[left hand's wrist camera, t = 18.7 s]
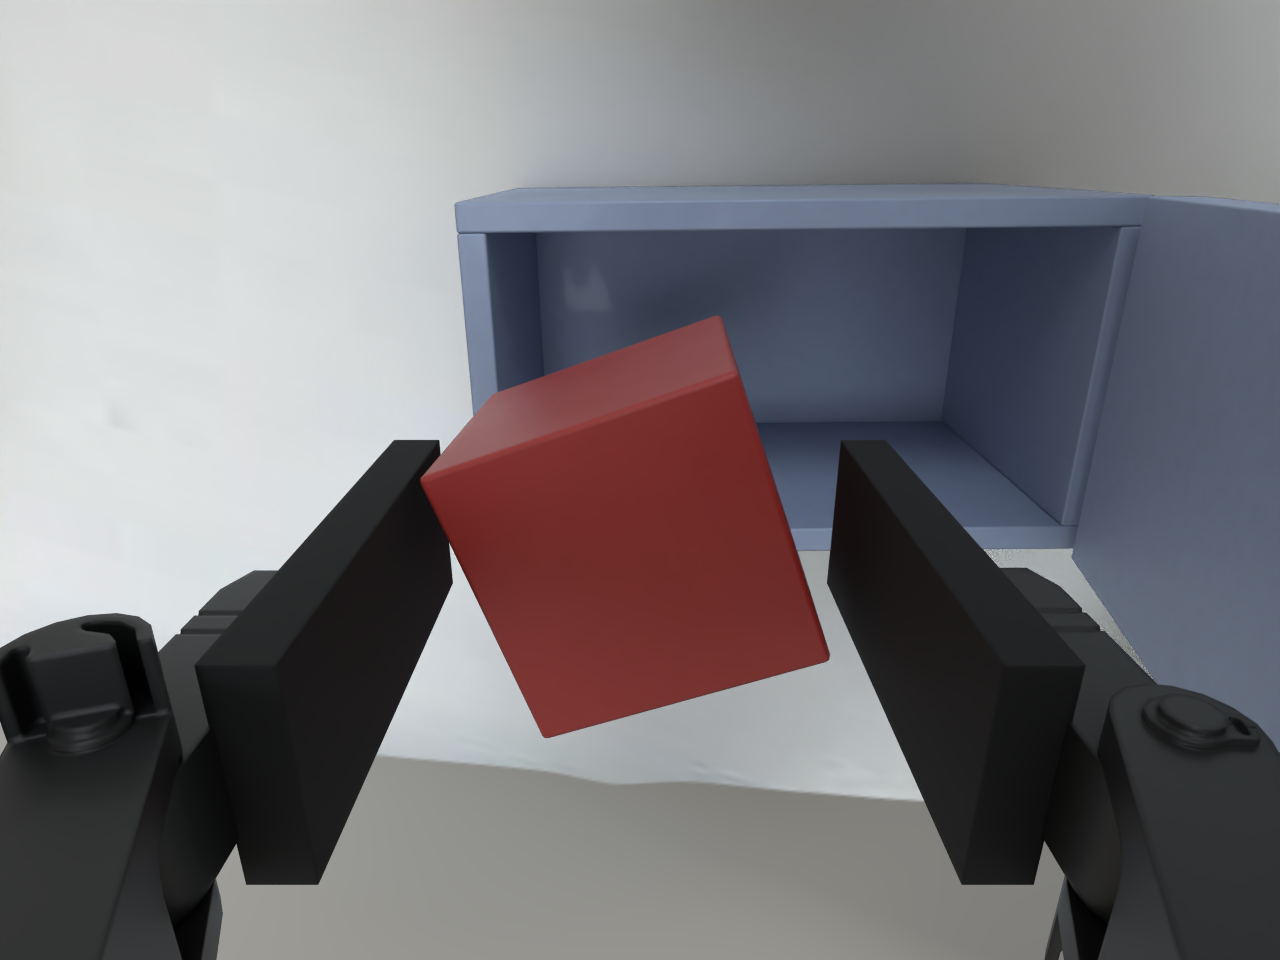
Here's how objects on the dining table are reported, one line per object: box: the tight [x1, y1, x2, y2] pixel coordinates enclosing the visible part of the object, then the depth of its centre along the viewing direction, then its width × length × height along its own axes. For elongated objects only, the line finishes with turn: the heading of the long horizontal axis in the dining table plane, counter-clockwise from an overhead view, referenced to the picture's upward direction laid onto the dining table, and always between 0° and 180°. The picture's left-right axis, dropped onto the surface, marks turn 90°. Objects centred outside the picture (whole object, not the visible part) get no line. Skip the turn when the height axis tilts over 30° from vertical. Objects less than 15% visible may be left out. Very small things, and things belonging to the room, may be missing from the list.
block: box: [421, 316, 830, 738], centre depth 14 cm, size 5×5×5 cm
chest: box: [455, 183, 1155, 551], centre depth 27 cm, size 17×10×11 cm, turn 91°
